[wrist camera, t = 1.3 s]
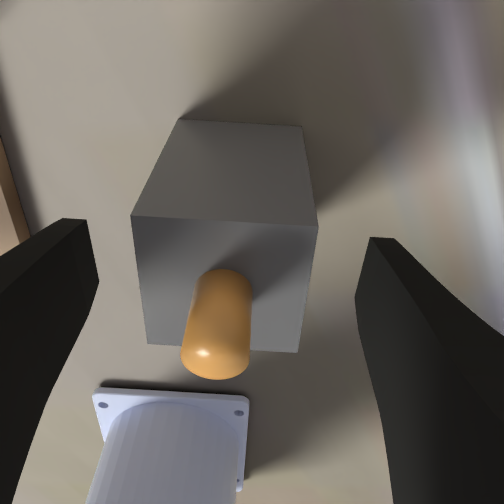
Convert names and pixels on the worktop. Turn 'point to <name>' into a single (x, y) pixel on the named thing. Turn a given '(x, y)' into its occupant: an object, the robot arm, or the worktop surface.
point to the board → (10, 209)
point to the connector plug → (226, 243)
